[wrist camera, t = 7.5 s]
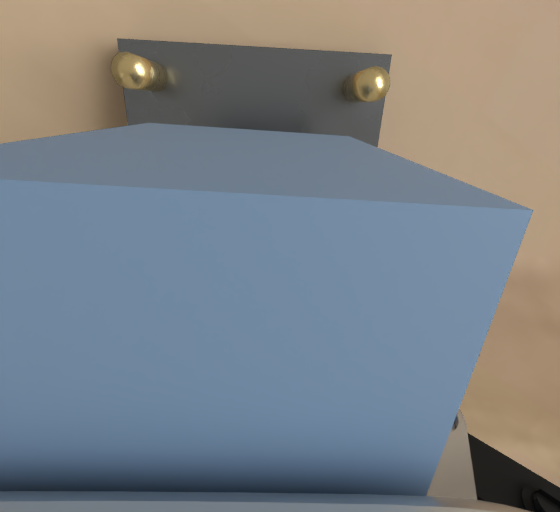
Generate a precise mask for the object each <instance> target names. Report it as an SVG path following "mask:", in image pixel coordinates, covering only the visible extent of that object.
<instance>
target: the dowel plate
mask: <svg viewBox="0 0 560 512" xmlns="http://www.w3.org/2000/svg"><path fill="white" fill-rule="evenodd" d="M117 41H118V49H119V53H118V54H117V55H115V56H114V58H113V60H112V62H111V72H112V75H113V77H114V79H115V80H116V82H117V83H118V84H119V85H121V86H122V87H123V89H124V97H125V106H126V114H127V122H128V126H129V125H136V124H143V123H159V124H174V125H189V126H204V127H220V128H235V129H250V130H265V131H280V132H295V133H310V134H325V135H340V136H350V137H352V138H355V139H357V140H360V141H362V142H365V143H367V144H370V145H372V146H375V147H377V146H378V140H379V133H380V127H381V120H382V114H383V108H384V101H385V95H386V94H387V92H388V90H389V87H390V77H389V69H390V63H391V56H392V55H389V54H372V53H355V52H338V51H321V50H304V49H287V48H270V47H253V46H236V45H219V44H202V43H185V42H168V41H151V40H134V39H117Z"/></svg>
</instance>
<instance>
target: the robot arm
mask: <svg viewBox="0 0 560 512" xmlns="http://www.w3.org/2000/svg"><path fill="white" fill-rule="evenodd" d="M0 512H560V488H559V487H557V486H556V485H554V484H552V483H551V482H549V481H547V480H546V479H544V478H542V477H541V476H539V475H537V474H536V473H534V472H532V471H531V470H529V469H527V468H526V467H524V466H522V465H521V464H519V463H517V462H515V461H514V460H512V459H510V458H509V457H507V456H505V455H504V454H502V453H500V452H499V451H497V450H495V449H494V448H492V447H490V446H489V445H487V444H485V443H484V442H482V441H480V440H479V439H477V438H475V437H474V436H472V435H470V434H468V433H467V426H466V421H465V418H464V415H463V414H462V412H461V411H460V409H459V410H458V412H457V415H456V418H455V420H454V423H453V426H452V428H451V431H450V434H449V436H448V439H447V442H446V444H445V447H444V450H443V452H442V455H441V458H440V460H439V463H438V466H437V468H436V471H435V474H434V476H433V479H432V482H431V484H430V487H429V490H428V492H427V495H426V496H408V495H378V494H319V493H246V492H132V491H0Z"/></svg>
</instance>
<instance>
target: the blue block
mask: <svg viewBox="0 0 560 512" xmlns="http://www.w3.org/2000/svg"><path fill="white" fill-rule="evenodd" d="M532 212H533V210H531V209H529V208H526V207H524V206H521V205H519V204H516V203H514V202H512V201H509V200H507V199H504V198H502V197H499V196H497V195H494V194H492V193H489V192H487V191H484V190H482V189H479V188H477V187H474V186H472V185H469V184H467V183H464V182H462V181H459V180H457V179H454V178H452V177H449V176H447V175H444V174H442V173H439V172H437V171H434V170H432V169H429V168H427V167H425V166H422V165H420V164H417V163H415V162H412V161H410V160H407V159H405V158H402V157H400V156H397V155H395V154H392V153H390V152H387V151H385V150H382V149H380V148H377V147H375V146H372V145H370V144H367V143H365V142H362V141H360V140H357V139H355V138H352V137H350V136H340V135H325V134H310V133H295V132H280V131H265V130H250V129H235V128H220V127H204V126H189V125H174V124H159V123H143V124H136V125H129V126H122V127H115V128H108V129H101V130H94V131H87V132H80V133H73V134H66V135H59V136H52V137H45V138H38V139H30V140H23V141H16V142H9V143H2V144H0V491H132V492H246V493H319V494H378V495H408V496H426V495H427V492H428V490H429V487H430V484H431V482H432V479H433V476H434V474H435V471H436V468H437V466H438V463H439V460H440V458H441V455H442V452H443V450H444V447H445V444H446V442H447V439H448V436H449V434H450V431H451V428H452V426H453V423H454V420H455V418H456V415H457V412H458V410H459V407H460V404H461V402H462V399H463V396H464V394H465V391H466V388H467V386H468V383H469V380H470V378H471V375H472V372H473V370H474V367H475V364H476V362H477V359H478V356H479V354H480V351H481V348H482V346H483V343H484V340H485V338H486V335H487V332H488V330H489V327H490V324H491V322H492V319H493V316H494V314H495V311H496V308H497V306H498V303H499V300H500V298H501V295H502V292H503V290H504V287H505V284H506V282H507V279H508V276H509V274H510V271H511V268H512V266H513V263H514V260H515V258H516V255H517V252H518V250H519V247H520V244H521V242H522V239H523V236H524V234H525V231H526V228H527V226H528V223H529V220H530V218H531V215H532Z"/></svg>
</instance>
